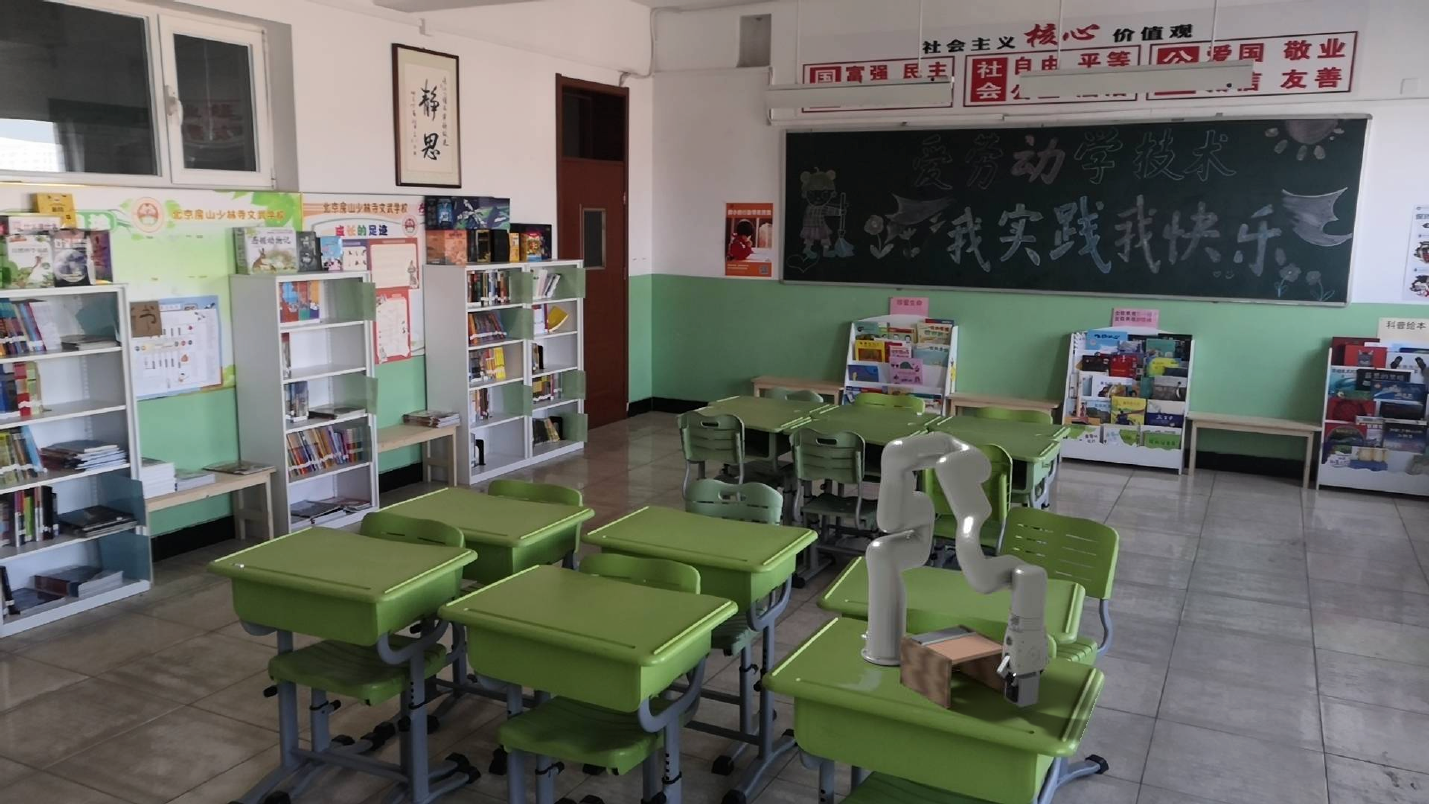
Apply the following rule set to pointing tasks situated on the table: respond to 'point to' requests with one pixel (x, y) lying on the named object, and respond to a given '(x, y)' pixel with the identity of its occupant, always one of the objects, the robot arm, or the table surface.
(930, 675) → the frame
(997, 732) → the table surface
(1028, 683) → the grey short rectangular block
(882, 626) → the robot arm
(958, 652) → the trapdoor
